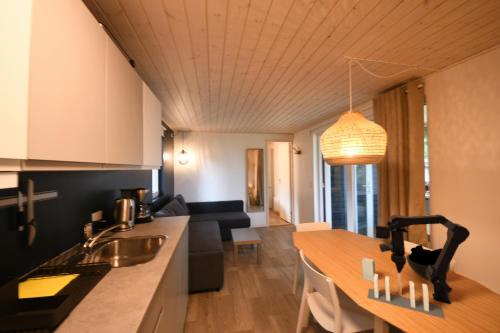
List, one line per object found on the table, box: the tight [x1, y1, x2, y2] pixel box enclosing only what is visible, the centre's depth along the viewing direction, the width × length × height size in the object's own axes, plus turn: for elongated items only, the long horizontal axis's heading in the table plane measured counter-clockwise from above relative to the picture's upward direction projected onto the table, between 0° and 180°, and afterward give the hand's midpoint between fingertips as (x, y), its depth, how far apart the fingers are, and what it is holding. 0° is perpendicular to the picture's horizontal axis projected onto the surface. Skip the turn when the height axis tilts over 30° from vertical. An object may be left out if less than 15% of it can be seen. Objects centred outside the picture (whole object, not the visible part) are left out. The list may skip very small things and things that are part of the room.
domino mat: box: [366, 288, 446, 320], centre depth 106 cm, size 10×30×1 cm, turn 56°
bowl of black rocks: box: [405, 244, 451, 279], centre depth 129 cm, size 20×20×19 cm
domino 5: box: [422, 283, 430, 311], centre depth 101 cm, size 5×2×10 cm, turn 146°
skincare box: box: [361, 257, 376, 283], centre depth 128 cm, size 6×4×12 cm
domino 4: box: [409, 280, 416, 308], centre depth 104 cm, size 5×2×10 cm, turn 146°
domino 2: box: [384, 275, 391, 301], centre depth 110 cm, size 5×2×10 cm, turn 146°
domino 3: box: [396, 271, 403, 296], centre depth 114 cm, size 5×2×10 cm, turn 146°
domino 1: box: [373, 273, 380, 298], centre depth 112 cm, size 5×2×10 cm, turn 146°
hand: (398, 269), depth 114 cm, fingers open, 9 cm apart
